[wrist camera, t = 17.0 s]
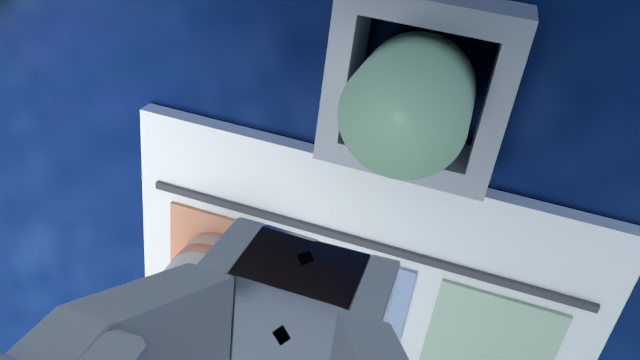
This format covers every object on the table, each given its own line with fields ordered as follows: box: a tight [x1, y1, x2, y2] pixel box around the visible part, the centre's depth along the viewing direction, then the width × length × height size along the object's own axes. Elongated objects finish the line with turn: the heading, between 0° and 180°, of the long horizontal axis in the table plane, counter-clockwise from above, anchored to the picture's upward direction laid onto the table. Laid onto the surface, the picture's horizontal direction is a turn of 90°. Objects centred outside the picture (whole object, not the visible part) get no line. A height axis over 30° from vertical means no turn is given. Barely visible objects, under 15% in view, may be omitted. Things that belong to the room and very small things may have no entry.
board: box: [140, 103, 640, 360], centre depth 25 cm, size 20×13×1 cm, turn 82°
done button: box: [337, 31, 477, 180], centre depth 18 cm, size 4×4×3 cm
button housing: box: [313, 0, 539, 202], centre depth 19 cm, size 6×6×2 cm
